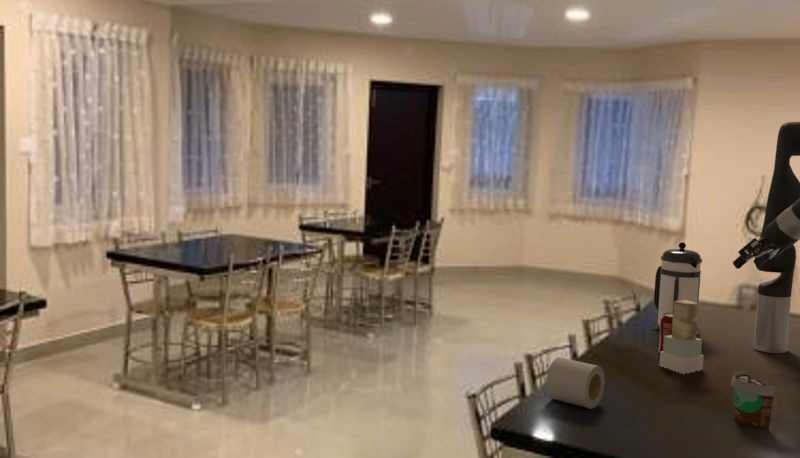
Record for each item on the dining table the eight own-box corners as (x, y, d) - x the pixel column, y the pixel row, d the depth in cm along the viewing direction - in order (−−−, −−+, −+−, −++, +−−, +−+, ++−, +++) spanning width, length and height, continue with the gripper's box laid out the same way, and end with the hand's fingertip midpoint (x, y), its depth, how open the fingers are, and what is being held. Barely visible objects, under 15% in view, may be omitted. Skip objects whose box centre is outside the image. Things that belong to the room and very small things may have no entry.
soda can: (683, 358, 229) (686, 317, 228) (659, 356, 231) (662, 316, 229) (680, 352, 236) (683, 312, 235) (656, 350, 237) (659, 311, 236)
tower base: (678, 363, 224) (679, 348, 224) (702, 371, 217) (703, 355, 217) (659, 367, 220) (660, 351, 220) (682, 375, 213) (684, 358, 213)
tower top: (680, 349, 223) (681, 333, 222) (701, 355, 217) (702, 339, 216) (663, 351, 219) (664, 336, 219) (683, 358, 213) (684, 342, 213)
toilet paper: (544, 403, 186) (547, 361, 185) (565, 393, 194) (567, 353, 193) (583, 413, 180) (586, 370, 179) (603, 403, 188) (605, 362, 187)
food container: (717, 412, 183) (721, 370, 182) (743, 412, 184) (746, 370, 183) (745, 432, 171) (749, 387, 170) (772, 431, 172) (776, 387, 170)
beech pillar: (682, 335, 221) (685, 299, 220) (695, 338, 217) (698, 302, 216) (671, 336, 218) (673, 301, 217) (684, 340, 215) (687, 304, 213)
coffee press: (705, 330, 265) (711, 241, 262) (694, 339, 252) (701, 246, 248) (652, 322, 275) (658, 237, 271) (640, 331, 261) (645, 241, 258)
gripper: (798, 214, 202) (754, 252, 213) (763, 215, 195) (720, 255, 206) (816, 237, 198) (770, 274, 209) (781, 239, 191) (736, 278, 202)
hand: (745, 265), depth 207 cm, fingers open, 8 cm apart
